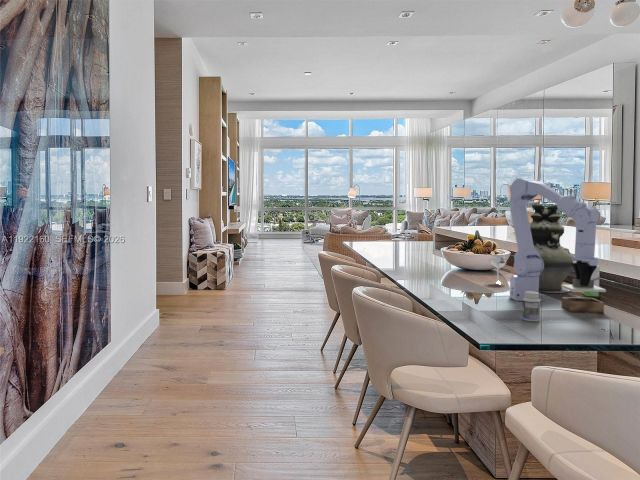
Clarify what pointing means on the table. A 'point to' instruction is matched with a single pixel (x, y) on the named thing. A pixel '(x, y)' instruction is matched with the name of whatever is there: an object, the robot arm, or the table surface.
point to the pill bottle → (531, 306)
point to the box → (582, 305)
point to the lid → (583, 287)
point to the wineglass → (498, 264)
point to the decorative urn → (550, 248)
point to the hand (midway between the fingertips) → (582, 285)
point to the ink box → (596, 282)
